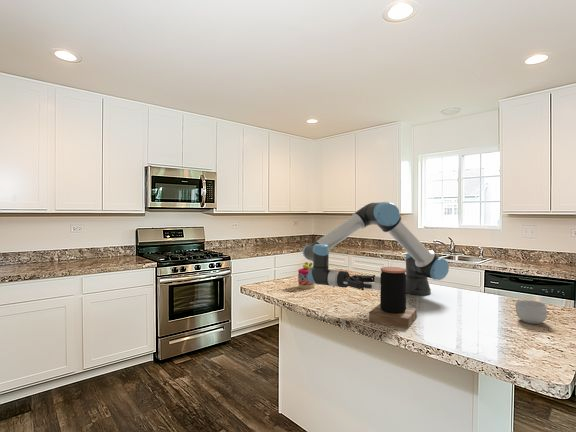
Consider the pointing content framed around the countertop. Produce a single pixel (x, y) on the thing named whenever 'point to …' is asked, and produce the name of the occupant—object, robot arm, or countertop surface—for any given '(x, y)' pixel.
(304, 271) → the cake
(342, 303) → the countertop surface
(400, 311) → the coffee jar
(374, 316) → the walnut base block
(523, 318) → the teacup
